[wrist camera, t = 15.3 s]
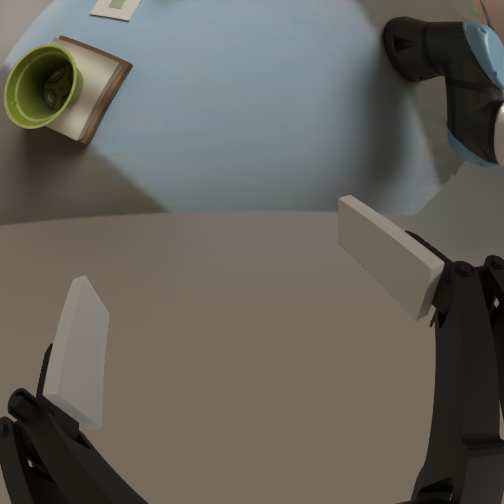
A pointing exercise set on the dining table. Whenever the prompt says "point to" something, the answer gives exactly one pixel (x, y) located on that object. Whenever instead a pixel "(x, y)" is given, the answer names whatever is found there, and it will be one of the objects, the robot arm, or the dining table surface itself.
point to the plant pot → (42, 86)
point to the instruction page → (116, 8)
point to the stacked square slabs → (89, 89)
